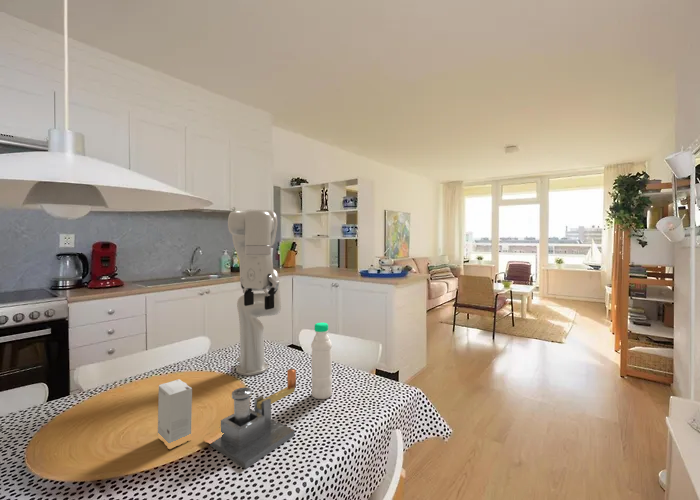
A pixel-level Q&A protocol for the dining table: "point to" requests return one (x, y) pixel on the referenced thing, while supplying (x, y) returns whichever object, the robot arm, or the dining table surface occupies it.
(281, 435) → the dock
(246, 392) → the grey cylinder
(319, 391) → the water bottle
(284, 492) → the dining table surface
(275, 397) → the lock pin
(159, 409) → the skincare box
